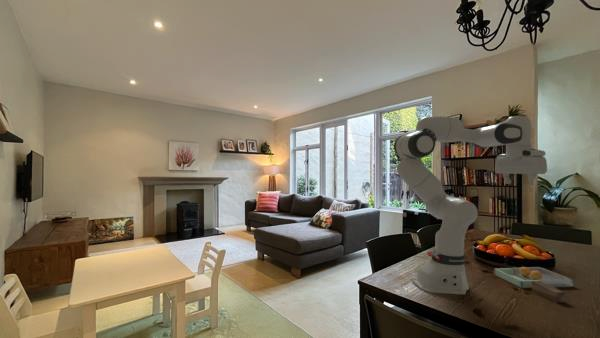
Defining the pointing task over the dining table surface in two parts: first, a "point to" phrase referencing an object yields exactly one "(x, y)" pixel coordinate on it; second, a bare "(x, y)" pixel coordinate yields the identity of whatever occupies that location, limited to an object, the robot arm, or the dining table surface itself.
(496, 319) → the dining table surface
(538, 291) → the taupe rectangular slab
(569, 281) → the grey metal shallow bin
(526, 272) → the ball
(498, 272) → the tray
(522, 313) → the dining table surface
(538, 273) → the ball
